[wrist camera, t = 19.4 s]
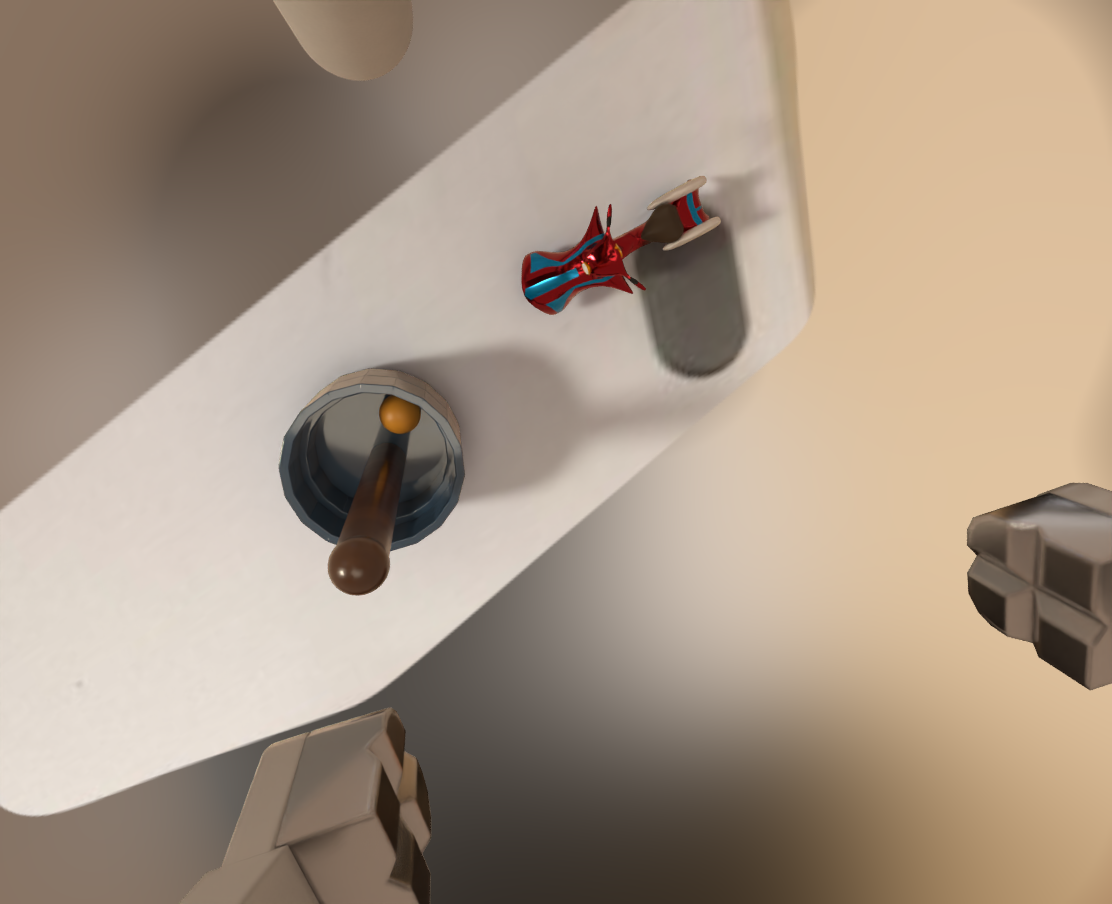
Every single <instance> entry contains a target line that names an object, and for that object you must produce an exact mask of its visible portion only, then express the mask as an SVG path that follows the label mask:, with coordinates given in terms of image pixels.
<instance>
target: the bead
mask: <svg viewBox="0 0 1112 904" xmlns="http://www.w3.org/2000/svg"><path fill="white" fill-rule="evenodd" d="M379 417H380V421H381V423H382V424H383V426H384V427H385V428H386V429H387V430H389V431H391V432H393V433H397V434H404V433H408V432H410V431H412V430H413V429H414V428H415V427H416V426H417V425H418V423H419V421H420V418H421V410H420V407H419V406H417V405H415V404H412V403H410V402H408V401H405V400H403V399H400V398H398V397H396V396H393V395H390V396H388V397H387V398H386V399H385V400H384V401H383V402H382V404H381V406H380V409H379Z"/></svg>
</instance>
